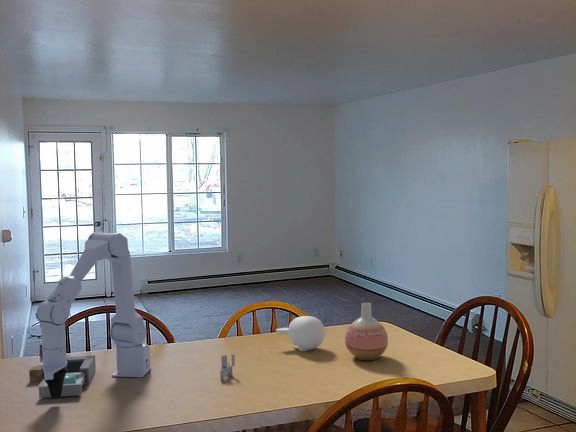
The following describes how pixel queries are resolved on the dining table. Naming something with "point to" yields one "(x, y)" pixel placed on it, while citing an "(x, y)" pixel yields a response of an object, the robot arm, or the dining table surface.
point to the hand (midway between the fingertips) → (56, 397)
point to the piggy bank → (305, 332)
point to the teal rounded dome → (69, 378)
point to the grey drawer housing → (82, 366)
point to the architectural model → (226, 368)
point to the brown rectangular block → (36, 374)
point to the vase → (366, 336)
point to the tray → (66, 387)
